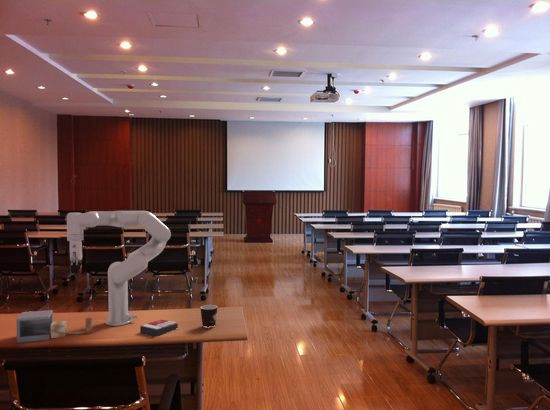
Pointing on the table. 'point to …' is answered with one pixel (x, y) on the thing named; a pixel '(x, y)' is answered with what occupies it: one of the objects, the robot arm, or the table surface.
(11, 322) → the table surface
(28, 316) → the block
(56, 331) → the corded block
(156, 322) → the flat cardboard box
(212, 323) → the coffee mug
